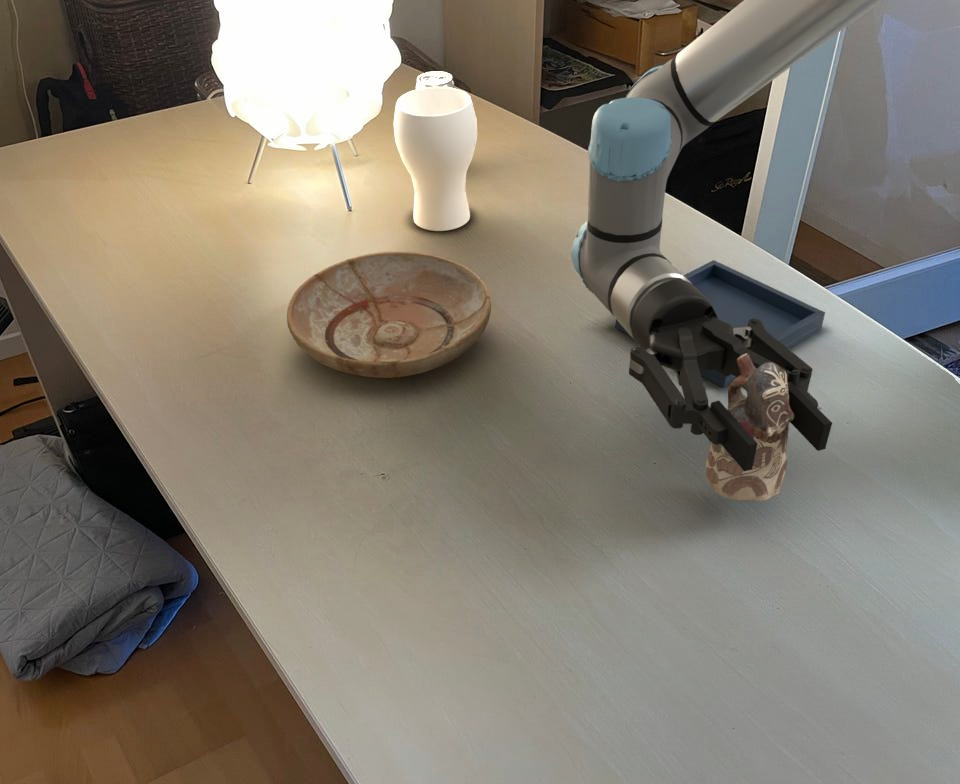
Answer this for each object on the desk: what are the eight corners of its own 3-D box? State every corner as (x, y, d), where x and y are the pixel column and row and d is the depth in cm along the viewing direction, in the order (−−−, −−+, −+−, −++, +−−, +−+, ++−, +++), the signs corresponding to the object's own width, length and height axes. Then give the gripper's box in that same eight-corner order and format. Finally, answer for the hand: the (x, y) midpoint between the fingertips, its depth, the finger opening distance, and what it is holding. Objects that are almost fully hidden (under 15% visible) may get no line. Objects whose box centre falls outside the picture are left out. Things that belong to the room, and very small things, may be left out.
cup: (393, 233, 133) (380, 115, 122) (415, 197, 140) (405, 82, 129) (470, 239, 131) (464, 120, 120) (488, 203, 138) (484, 86, 127)
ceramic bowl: (259, 384, 111) (250, 344, 107) (340, 279, 126) (334, 241, 122) (455, 413, 106) (453, 373, 102) (515, 301, 120) (515, 262, 117)
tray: (821, 330, 114) (825, 312, 112) (723, 388, 107) (726, 369, 105) (711, 277, 122) (713, 259, 121) (614, 327, 116) (616, 309, 114)
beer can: (460, 158, 148) (455, 70, 139) (457, 174, 144) (451, 85, 135) (424, 158, 148) (417, 71, 139) (420, 174, 145) (412, 85, 136)
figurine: (744, 513, 88) (767, 399, 79) (688, 473, 92) (704, 361, 83) (800, 480, 91) (828, 367, 82) (743, 443, 95) (764, 331, 86)
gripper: (744, 325, 102) (876, 454, 88) (572, 368, 99) (679, 510, 84) (756, 256, 97) (899, 382, 82) (574, 299, 93) (689, 438, 78)
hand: (787, 447), depth 83 cm, fingers closed on figurine, 6 cm apart
